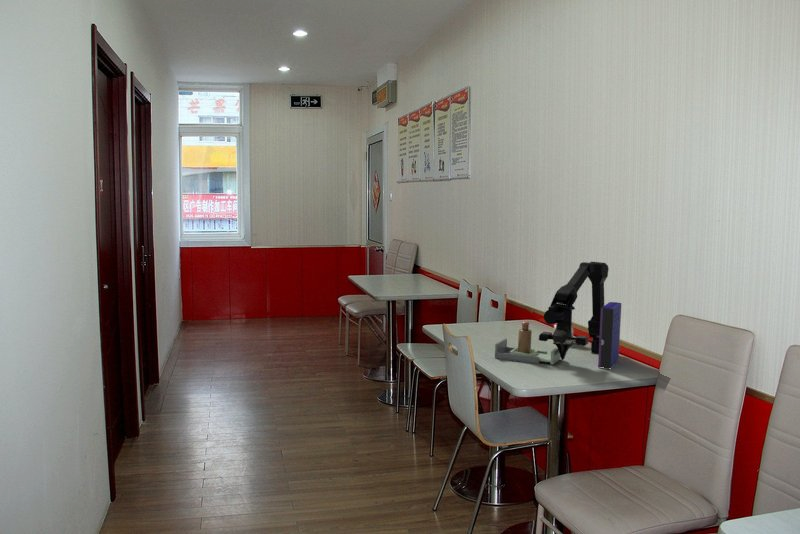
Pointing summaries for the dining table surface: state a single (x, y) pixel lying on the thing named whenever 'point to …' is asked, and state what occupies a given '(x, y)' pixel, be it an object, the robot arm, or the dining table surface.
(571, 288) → the robot arm
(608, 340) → the cereal box
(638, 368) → the dining table surface
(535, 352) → the tray
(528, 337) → the vinegar bottle
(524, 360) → the dock
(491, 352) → the dining table surface
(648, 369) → the dining table surface
